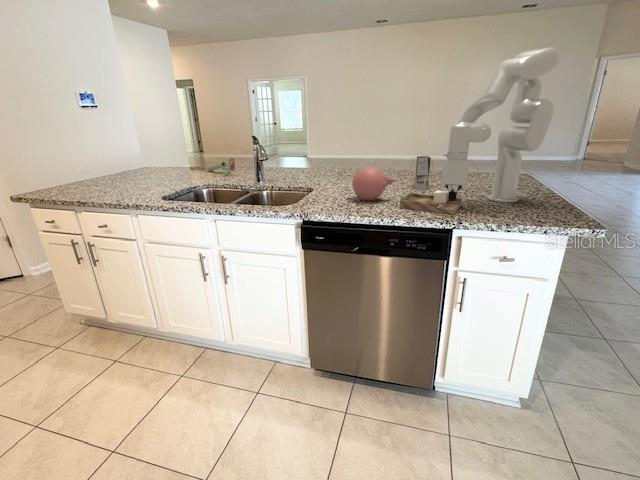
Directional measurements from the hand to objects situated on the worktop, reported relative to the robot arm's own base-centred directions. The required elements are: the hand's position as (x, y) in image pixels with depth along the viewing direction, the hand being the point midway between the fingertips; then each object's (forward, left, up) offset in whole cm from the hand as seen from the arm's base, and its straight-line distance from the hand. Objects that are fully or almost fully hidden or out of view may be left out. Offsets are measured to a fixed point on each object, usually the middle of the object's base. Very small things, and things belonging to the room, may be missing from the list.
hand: (452, 200), depth 143 cm
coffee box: (+22, -34, -3) cm, 41 cm away
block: (+5, -1, -1) cm, 5 cm away
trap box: (+8, +3, -3) cm, 9 cm away
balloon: (+34, +3, -3) cm, 35 cm away
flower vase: (+158, -21, -3) cm, 160 cm away
